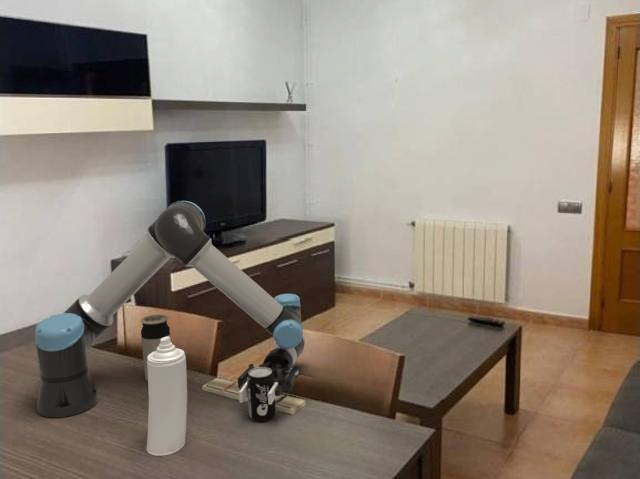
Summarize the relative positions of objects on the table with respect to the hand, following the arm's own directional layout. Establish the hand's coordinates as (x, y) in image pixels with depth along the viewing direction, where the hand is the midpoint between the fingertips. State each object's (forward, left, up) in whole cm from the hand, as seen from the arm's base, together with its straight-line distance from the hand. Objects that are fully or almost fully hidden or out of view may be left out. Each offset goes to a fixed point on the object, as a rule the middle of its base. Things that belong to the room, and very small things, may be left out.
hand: (255, 398), depth 148 cm
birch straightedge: (+12, +11, -7) cm, 18 cm away
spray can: (-15, +14, -8) cm, 22 cm away
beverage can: (+5, +2, -8) cm, 9 cm away
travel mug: (+10, +43, -8) cm, 44 cm away
